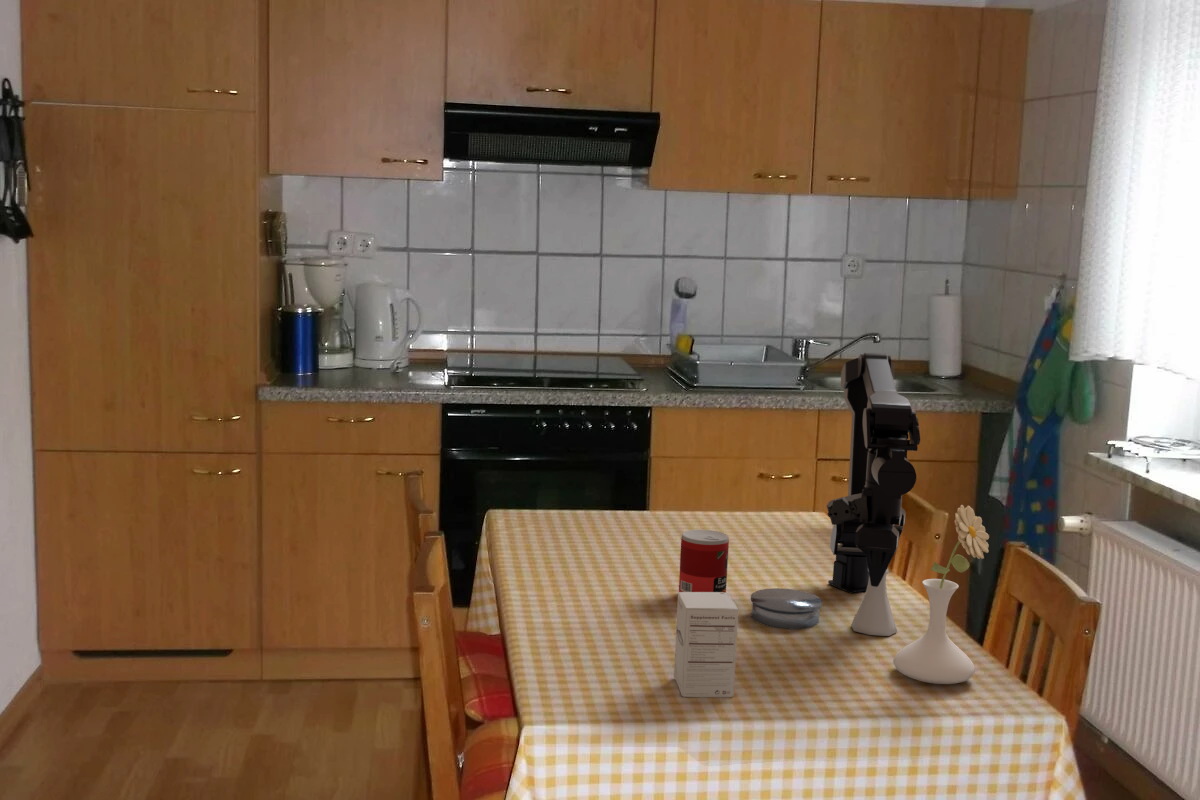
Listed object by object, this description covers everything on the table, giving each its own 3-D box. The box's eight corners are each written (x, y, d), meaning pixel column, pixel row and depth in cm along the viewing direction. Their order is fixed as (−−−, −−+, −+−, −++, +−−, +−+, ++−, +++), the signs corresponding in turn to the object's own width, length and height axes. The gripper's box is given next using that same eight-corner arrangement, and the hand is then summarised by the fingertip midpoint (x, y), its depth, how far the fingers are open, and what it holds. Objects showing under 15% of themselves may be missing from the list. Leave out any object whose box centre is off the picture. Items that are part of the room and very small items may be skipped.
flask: (899, 626, 208) (904, 566, 207) (894, 640, 202) (899, 577, 200) (854, 620, 211) (858, 560, 209) (847, 633, 204) (851, 571, 202)
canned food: (723, 607, 214) (726, 542, 213) (675, 602, 216) (678, 538, 214) (728, 594, 222) (731, 531, 220) (681, 589, 223) (684, 527, 222)
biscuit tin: (792, 605, 218) (793, 585, 217) (835, 626, 208) (836, 605, 207) (735, 613, 212) (737, 592, 212) (776, 634, 202) (777, 613, 202)
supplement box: (672, 678, 182) (676, 590, 180) (725, 678, 182) (729, 591, 180) (680, 698, 174) (684, 607, 172) (734, 698, 175) (739, 607, 173)
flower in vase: (929, 696, 178) (943, 519, 175) (875, 668, 188) (888, 500, 185) (1000, 683, 184) (1015, 511, 181) (944, 657, 194) (958, 494, 191)
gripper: (839, 465, 214) (833, 557, 216) (824, 488, 196) (818, 588, 198) (908, 472, 210) (901, 565, 213) (900, 495, 193) (892, 597, 195)
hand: (877, 578), depth 205 cm, fingers open, 9 cm apart
